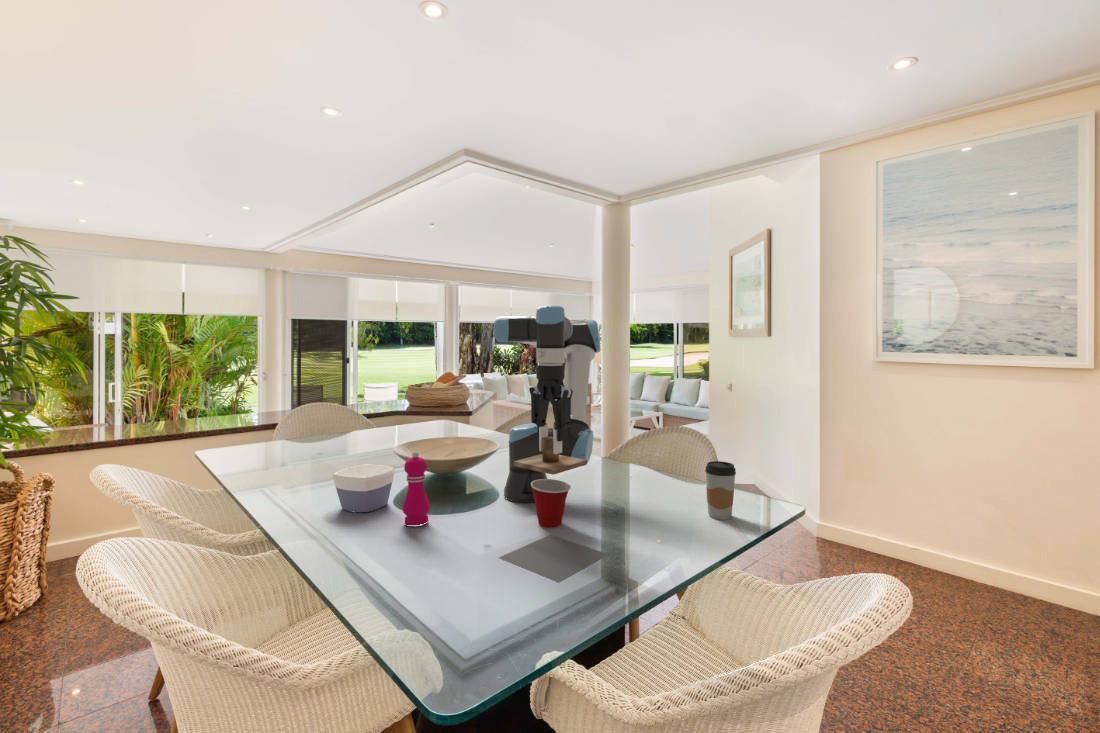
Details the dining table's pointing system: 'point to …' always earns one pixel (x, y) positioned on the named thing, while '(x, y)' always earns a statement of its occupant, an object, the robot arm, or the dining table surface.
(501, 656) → the dining table surface
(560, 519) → the plastic cup
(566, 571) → the mat
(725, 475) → the coffee cup
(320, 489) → the dining table surface
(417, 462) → the pepper mill
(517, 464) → the lid
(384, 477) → the bowl
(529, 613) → the dining table surface
